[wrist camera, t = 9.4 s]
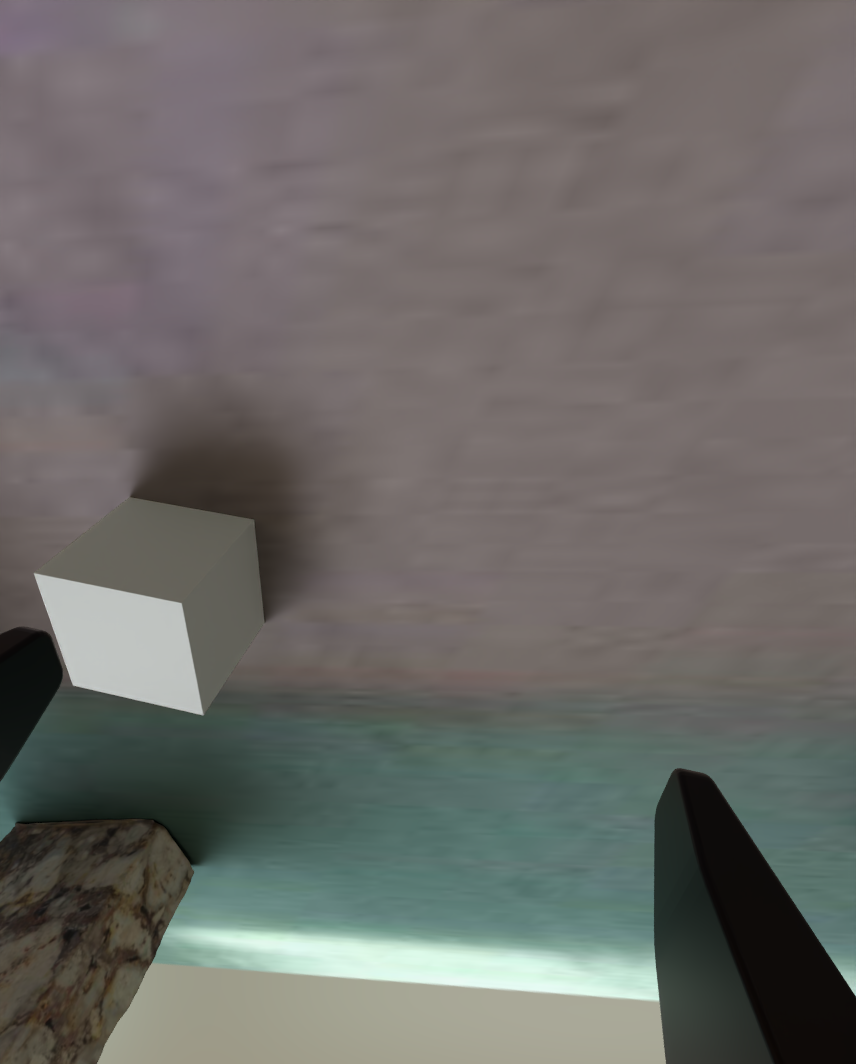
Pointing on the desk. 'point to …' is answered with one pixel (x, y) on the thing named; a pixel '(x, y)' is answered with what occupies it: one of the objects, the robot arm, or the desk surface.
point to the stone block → (80, 931)
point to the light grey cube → (156, 602)
